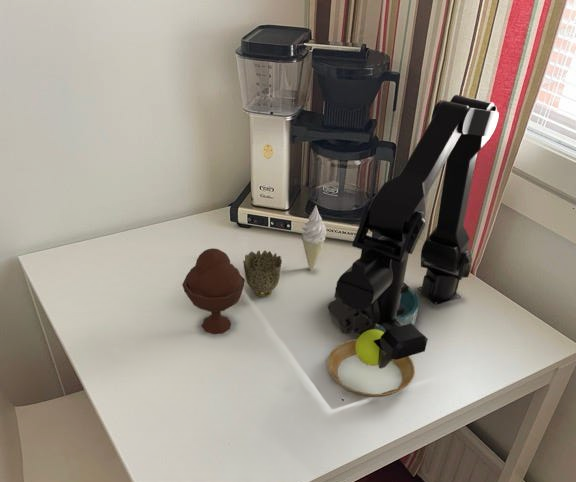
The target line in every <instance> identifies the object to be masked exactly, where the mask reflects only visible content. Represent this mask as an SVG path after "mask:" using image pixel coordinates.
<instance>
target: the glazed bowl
mask: <svg viewBox="0 0 576 482" xmlns="http://www.w3.org/2000/svg"><path fill="white" fill-rule="evenodd" d="M334 300H336V297H335V294H334V296H333V301H334ZM419 300H420V299H419V297H418V295H417V294H416V292H415V290H413V289H412V288H411V287H410V286H409V288H408V292H406V293H403V294H401V299H400V305H401V306H402V307H403V308H404V314H403V315H399V316H396V319H397V320H398V321H399V322H400V323H401V324H404V325H406V324H410V323H412V324H413V325H414V326H415V323H416V320H417V315H418V311H419ZM374 329H376V330H380V331H382V332H384V333H385V331H386V330H385V329H384V328H383V327H382V326H381V327H378V326H377V325H376V324H375V327H374ZM351 333H352V334H354V333H353V332H351ZM355 335H356V336H358V334H355Z"/></svg>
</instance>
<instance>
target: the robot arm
mask: <svg viewBox="0 0 576 482" xmlns="http://www.w3.org/2000/svg"><path fill="white" fill-rule="evenodd" d="M499 116H500V114H499V111H498V107H497V106H496V105H495V103H494V102H493V101H492V102H491V101H487V100H482V99H477V98H474V97H473V98H472V97H468V96H464V95H460V94H455V95H453V96H452V97H451V99H450V100H445V99H444V100H443V99H439V100H438V102H436V104H435V106H434V108H433V111H432V114H431V118H430V122H429V124H427V127H426V129H425V130H424V132H423V133H422V136H420V139H419V141H418V142H417V144H416V146H415V148H414V149H413V151H412V153H411V154H410V156H409V157H408V159H407V161H406V162H405V164H404V166H403V168H402V169H401V171H400V173H399V174H398V175H397V176H395V177H393V178H391V179H389V180H388V181H385V182H384V183H383V184H382V186H380V188H379V189H378V191H377V192H376V194H375V195H374V196H373V197H372V198H371V199H369V201H368V202H367V205H366V208H365V209H364V212H363V215H362V218H361V220H360V223H359V226H358V228H357V231H356V233H355V236H354V239H353V241H352V247H353V248H357V249H360V250H361V252H360V256H359V258H358V259H356V260H355V261H353V263H352V265H351V266H350V267H349V268H348V269H346V270H345V271H344V272H343V273H342V274H341V275H340V276H339V278H338V280H337V281H336V286H335V288H334V289H335V291H334V295H335V297H336V300H334V299H333V300H332V301H330V302H329V303H328V305H327V309H328V312H329V316H330V319H331V322H332V324H334V325H335V326H336V327H337V328H338V330H339V331H340V333H341V334H343V335H349V334H351V333H352V332H353V333H352V334H354V335H356V334H358V335H357V339H358V338H359V336H360V335H361V334H362V333H364V332H365V331H367V330H372V329H374V327H375V324H376V325H377V326H378V327H381V326H382V327H383V328H384V329H385V330H386V331H385V333H384V334H383V335H382V336H381V339H377V340H374V341H373V342H374V343H375V344H376V345H377V346H378V347H379V360H378V364H379V365H378V368H379V370H382V369H384V368H386V367H387V366H388V365H389V364H390V362H392V361H391V360H392V359H395V360H398V359H401V358H404V357H408V356H409V357H410V356H411V357H412V356H414V355H418V354H421V353H424V352H426V348H427V345H428V340H429V338H428V337H427V336H426V335H425V334H424V333H423V332H422V331H421V330H420V329H419V328H418V327H417V326H415V324H414V325H413V324H412V323H410V324H406V325H404V324H401V323H400V322H399V321H398V320H397V319H396V316H399V315H403V314H404V308H403V307H402V306H401V305H400V299H401V294H403V293H406V292H408V288H409V287H410V286H409V285H408V284H406V282H405V277H406V271H407V265H408V261H409V255H413V252H414V250H415V248H416V247H417V244H418V242H419V240H420V237H421V235H422V234H423V231H424V229H425V227H426V221H425V220H426V214H427V211H426V198H427V196H428V194H429V192H430V190H431V188H432V186H433V184H434V183H435V181H436V179H437V178H438V176H439V174H440V172H441V171H442V168H443V167H444V165H445V170H444V176H443V183H442V189H441V197H440V201H439V209H438V215H437V221H436V222H437V223H436V226H435V228H434V229H433V231H432V232H431V233H430V234H429V235H428V237H427V238H426V239H425V240H424V242H423V244H422V247H421V250H420V251H421V252H420V268H424V269H426V273H425V275H424V276H423V280H422V284H421V286H419V287H417V290H418V292H420V294H421V295H422V296H424V297H425V298H426V299H427V300H428V301H430V302H431V303H432V304H433V305H441V304H444V303H447V302H451V301H455V300H459V299H462V297H461V295H460V294H459V293H457V291H458V289H459V283H460V281H462V279H464V278H469V276H470V272H471V268H472V263H473V258H472V253H471V251H470V250H469V247H470V241H471V240H470V239H471V238H470V236H469V234H468V232H467V230H466V228H465V226H464V224H465V219H466V213H467V208H468V204H469V203H468V202H469V198H470V193H471V187H472V181H473V177H474V171H475V165H476V161H477V156H478V152H480V151H481V149H482V148H483V147H484V146H485V145H486V143H487V142H488V141H489V140H490V138H491V137H492V135H493V134H494V132H495V130H496V129H497V128H496V127H497V125H498V121H499ZM368 232H371V233H373V234H376V235H379V237H378V238H377V237H373V236H370V235H368Z"/></svg>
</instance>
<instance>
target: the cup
mask: <svg viewBox="0 0 576 482" xmlns="http://www.w3.org/2000/svg"><path fill="white" fill-rule="evenodd" d="M282 261H283V259H282V257H281V255H278V254H277V253H276V252H275V253H274V254H273V253H272V252H271V251H268V252H267V250H264V251H262V253H261V250H257V251H256V253H255V252H254V251H250V252H249V253H248V254H245V255H244V260H242V262H243V269H244V275H245V276H244V277H245V282H246V283H247V286H248V287H249V288H250V289H251V290H252V293H253V294H254V296H256V297H258V298H267V297H269V296H271V295H272V292H273V291H274V290H275V288H276V287H277V286H278V284H279V280H280V277H281V269H282Z"/></svg>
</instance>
